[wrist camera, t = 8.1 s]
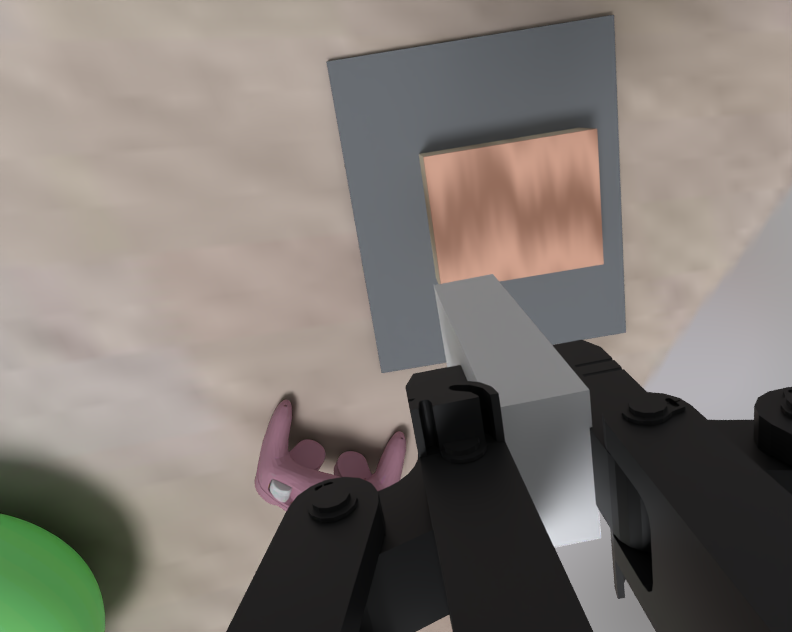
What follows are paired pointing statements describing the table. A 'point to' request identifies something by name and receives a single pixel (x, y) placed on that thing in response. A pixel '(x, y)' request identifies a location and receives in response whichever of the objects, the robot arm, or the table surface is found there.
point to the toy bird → (45, 583)
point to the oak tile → (515, 206)
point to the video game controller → (315, 462)
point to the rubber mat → (463, 126)
